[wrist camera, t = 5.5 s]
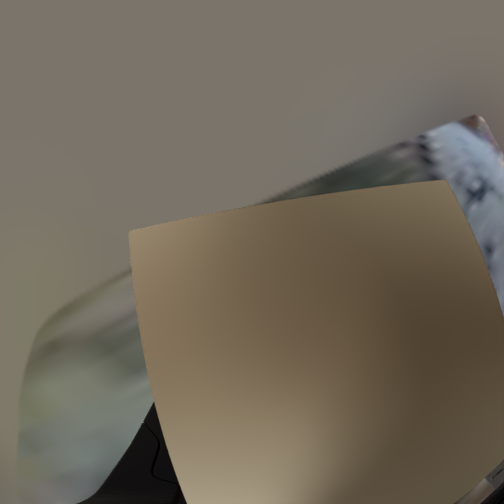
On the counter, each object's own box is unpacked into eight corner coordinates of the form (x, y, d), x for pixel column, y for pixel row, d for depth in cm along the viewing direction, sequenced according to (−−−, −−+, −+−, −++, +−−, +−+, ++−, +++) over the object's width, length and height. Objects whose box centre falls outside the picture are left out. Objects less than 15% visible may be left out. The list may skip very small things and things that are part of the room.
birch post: (319, 402, 14) (519, 441, 2) (230, 427, 13) (231, 591, 1) (295, 319, 16) (445, 179, 4) (207, 340, 15) (128, 231, 3)
